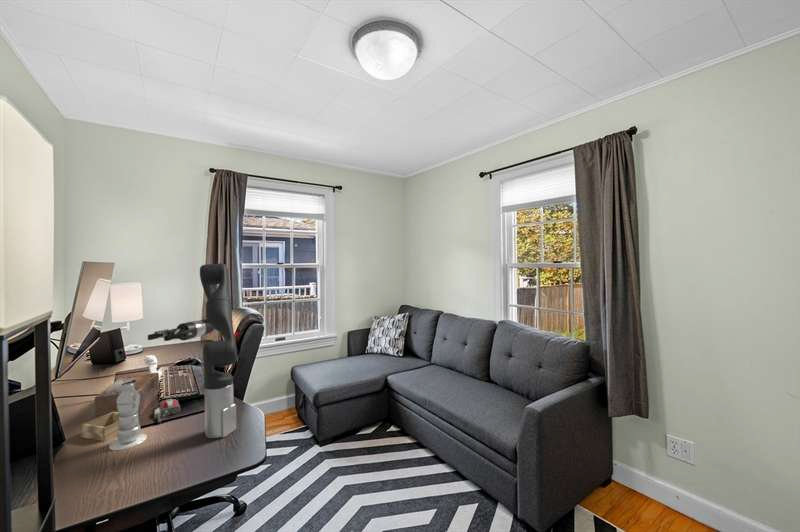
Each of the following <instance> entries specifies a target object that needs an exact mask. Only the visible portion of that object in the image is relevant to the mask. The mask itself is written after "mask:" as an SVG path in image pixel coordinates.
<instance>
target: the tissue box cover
mask: <svg viewBox="0 0 800 532" xmlns="http://www.w3.org/2000/svg"><path fill="white" fill-rule="evenodd" d="M149 373H150V372H149ZM126 382H135V388H134V389H135V390H136V391H137V392H138V393H139V394H140V401H139V411H138V416H141V415H142V413H144V412H145V410H146V409H147V407H148V406H150V404H151V403H152V402H153V400H154V399H155V398H156V397H157V396H158V395H159V393H160V386H159V383H160V382H159V373H150V374H146V373H143V374H135V375H134V374H133V375H127V376H126V375H125V376H121V377H119V378H118V379H117V380H116V381H114V382H113V383H112V384H110V385H109V386H108V387H106V388H105V389H104V390H102V391H101V392H100V393H98V395H96V396H95V397H94V419H96V418H98V417H101V416H103V415H106V414H108V413H111V412H118V408H117V402H116V401H117V398H118V396H119V395H120V394H121V392H122V390H121V384H123V383H126ZM158 392H159V393H158ZM157 394H158V395H157ZM156 395H157V396H156ZM151 401H152V402H151Z"/></svg>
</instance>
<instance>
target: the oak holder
mask: <svg viewBox="0 0 800 532" xmlns="http://www.w3.org/2000/svg"><path fill="white" fill-rule="evenodd" d="M108 425H109V426H108ZM118 427H119V414H118V412H111V413H108V414H106V415H103V416H101V417H98V418H96V419H95V418H94V419H91V420H89V421H86V422H84V423H81V424H80V437H81V438H85V439H92V440H97V441H103V442H106V441H108V440H110V439H112V438H114V437H117V432H118Z"/></svg>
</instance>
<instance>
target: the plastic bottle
mask: <svg viewBox="0 0 800 532" xmlns="http://www.w3.org/2000/svg"><path fill="white" fill-rule="evenodd" d="M134 388H135V382H126V383H123V384H121V390H122V392H121V394H120V395H119V396H118V398H117V401H116V402H117V408H118V414H119V427H118V432H117V436H116V440H118V442H120V443H129V442H132V441H134V440H136V439H137V438H138V437H139V436H140V434H142V433H141V431H142V429H141V428H142V427H141V424H140V418H139V415H138V411H139V401H140V394H139V393H138V392H137V391H136V390H135V389H134Z"/></svg>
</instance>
